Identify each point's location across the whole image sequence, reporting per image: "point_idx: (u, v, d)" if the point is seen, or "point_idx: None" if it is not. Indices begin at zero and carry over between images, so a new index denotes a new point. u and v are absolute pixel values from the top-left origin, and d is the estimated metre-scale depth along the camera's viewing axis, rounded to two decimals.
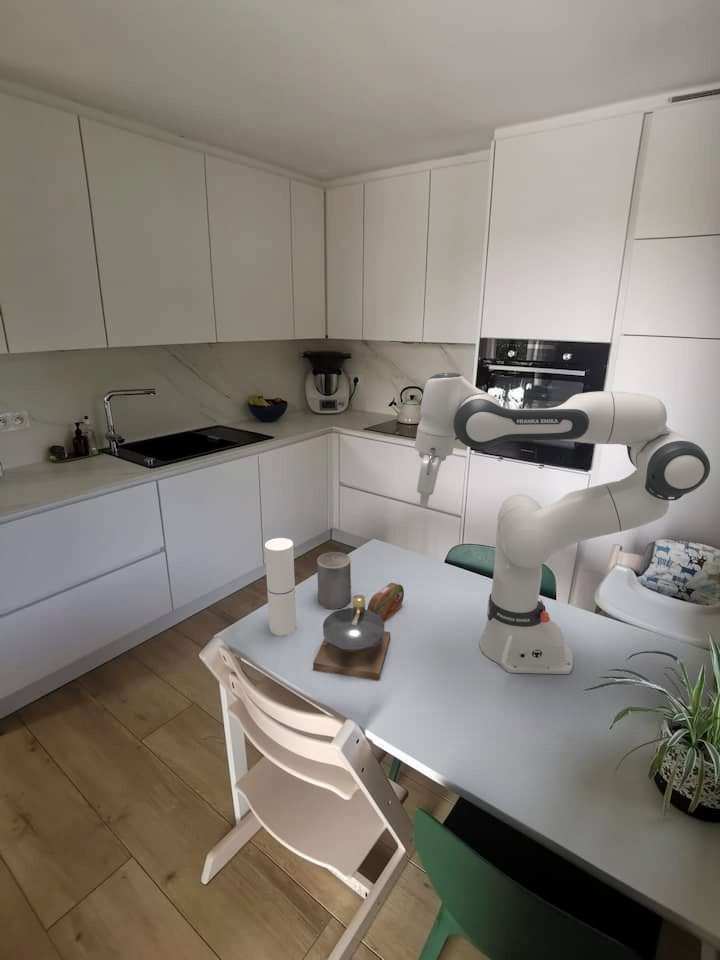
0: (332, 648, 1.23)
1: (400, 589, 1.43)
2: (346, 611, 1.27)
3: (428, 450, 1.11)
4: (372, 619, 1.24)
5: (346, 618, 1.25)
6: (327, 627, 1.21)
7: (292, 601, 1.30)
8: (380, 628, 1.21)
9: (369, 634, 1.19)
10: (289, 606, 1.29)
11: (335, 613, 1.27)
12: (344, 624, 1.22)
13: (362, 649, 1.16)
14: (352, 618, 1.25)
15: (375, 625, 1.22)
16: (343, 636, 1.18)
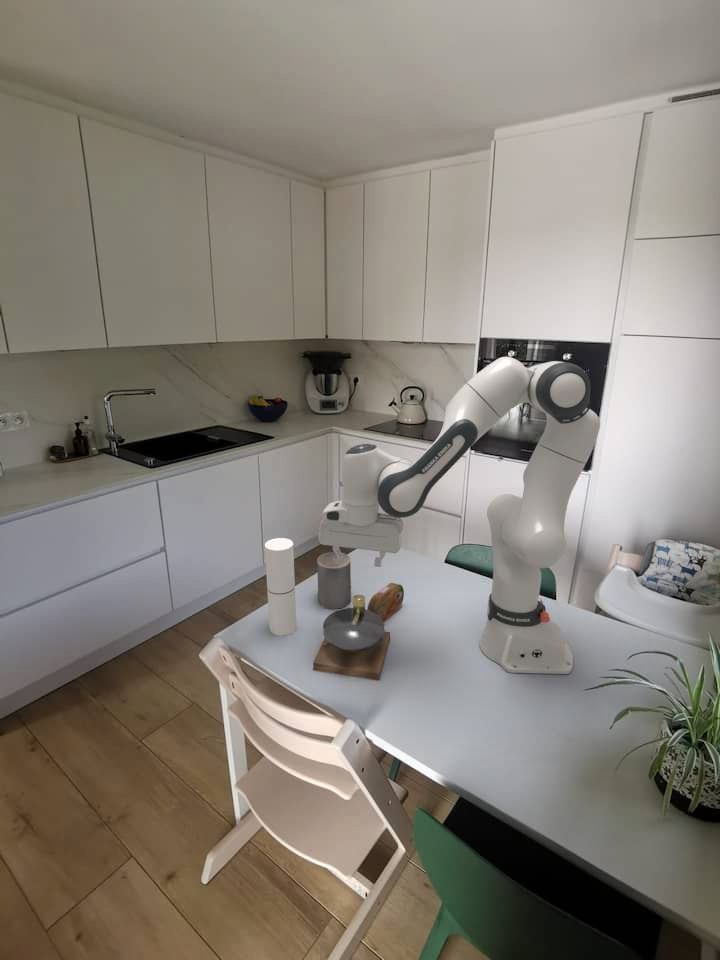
0: (332, 648, 1.23)
1: (400, 589, 1.43)
2: (346, 611, 1.27)
3: (377, 517, 1.17)
4: (372, 619, 1.24)
5: (346, 618, 1.25)
6: (327, 627, 1.21)
7: (292, 601, 1.30)
8: (380, 628, 1.21)
9: (369, 634, 1.19)
10: (289, 606, 1.29)
11: (335, 613, 1.27)
12: (344, 624, 1.22)
13: (362, 649, 1.16)
14: (352, 618, 1.25)
15: (375, 625, 1.22)
16: (343, 636, 1.18)
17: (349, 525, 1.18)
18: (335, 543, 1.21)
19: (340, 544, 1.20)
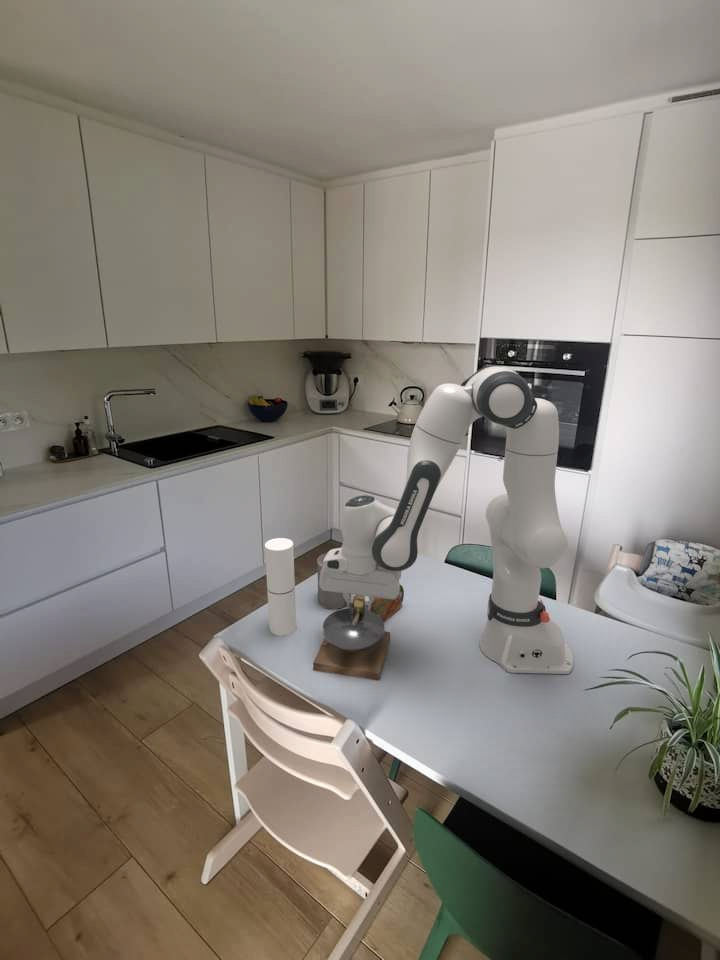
0: (332, 648, 1.23)
1: (400, 589, 1.43)
2: (346, 611, 1.27)
3: (375, 565, 1.21)
4: (372, 619, 1.24)
5: (346, 618, 1.25)
6: (327, 627, 1.21)
7: (292, 601, 1.30)
8: (380, 628, 1.21)
9: (369, 634, 1.19)
10: (289, 606, 1.29)
11: (335, 613, 1.27)
12: (344, 624, 1.22)
13: (362, 649, 1.16)
14: (352, 618, 1.25)
15: (375, 625, 1.22)
16: (343, 636, 1.18)
17: (349, 573, 1.22)
18: (335, 589, 1.25)
19: (340, 590, 1.25)
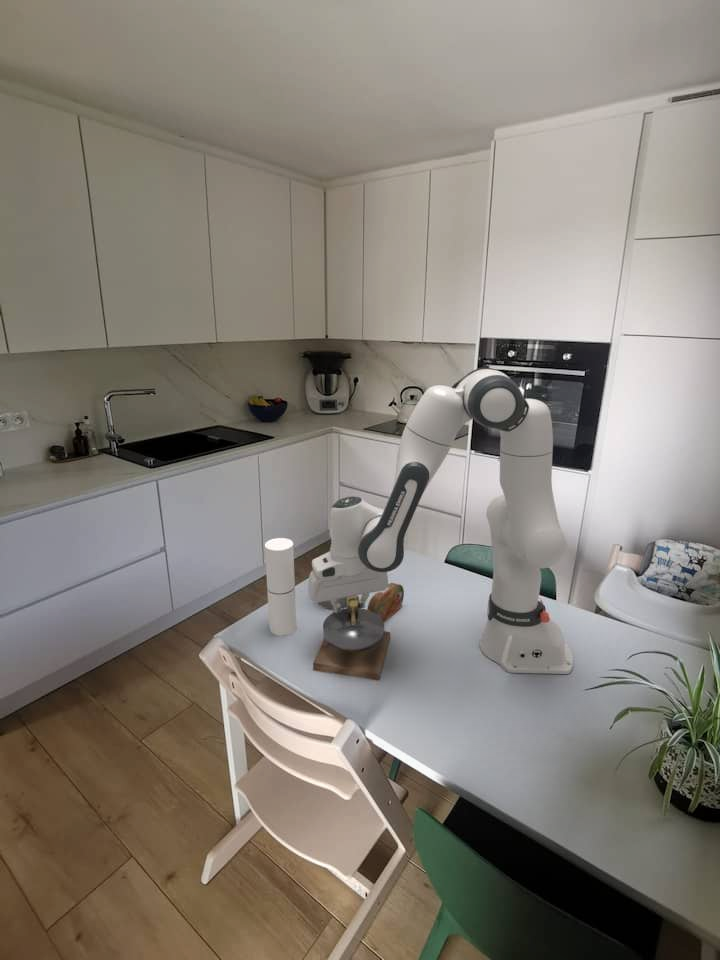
0: (332, 648, 1.23)
1: (400, 589, 1.43)
2: (340, 613, 1.27)
3: None
4: (368, 616, 1.25)
5: (343, 619, 1.24)
6: (329, 631, 1.19)
7: (292, 601, 1.30)
8: (381, 624, 1.22)
9: (372, 631, 1.20)
10: (289, 606, 1.29)
11: (330, 616, 1.25)
12: (344, 626, 1.22)
13: (370, 647, 1.16)
14: (349, 618, 1.24)
15: (374, 622, 1.23)
16: (349, 637, 1.17)
17: (343, 576, 1.21)
18: (329, 597, 1.22)
19: (334, 597, 1.22)
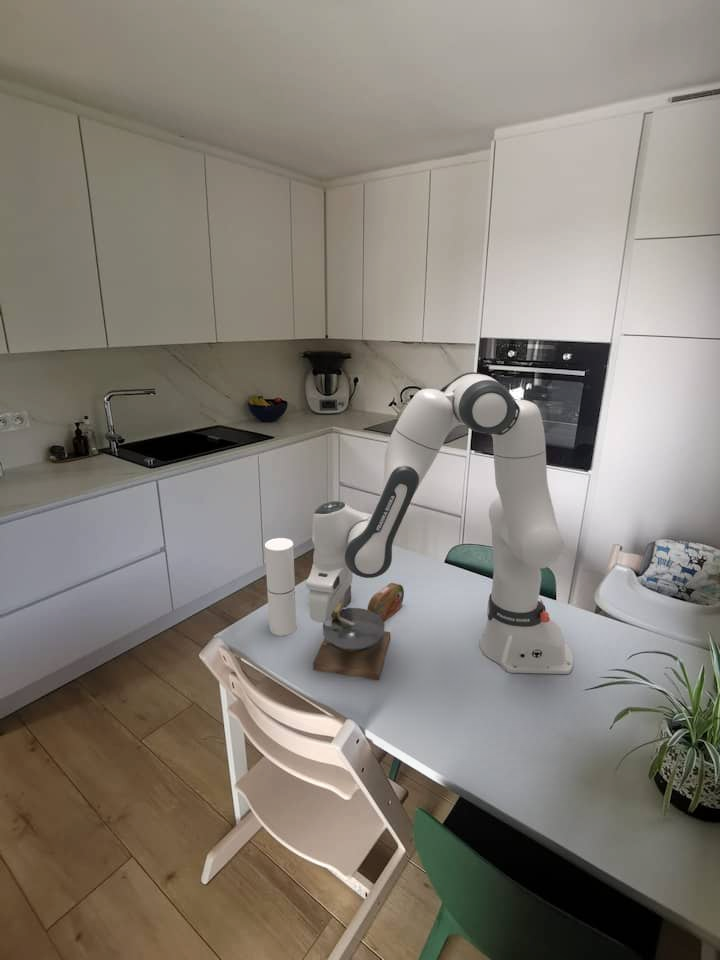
0: (332, 648, 1.23)
1: (400, 589, 1.43)
2: None
3: None
4: (352, 612, 1.27)
5: (340, 626, 1.21)
6: (346, 640, 1.16)
7: (292, 601, 1.30)
8: (369, 612, 1.27)
9: (373, 620, 1.24)
10: (289, 606, 1.29)
11: (327, 630, 1.20)
12: (348, 630, 1.20)
13: (383, 633, 1.21)
14: (342, 623, 1.23)
15: (362, 613, 1.27)
16: (366, 635, 1.18)
17: None
18: (331, 611, 1.16)
19: (333, 608, 1.18)
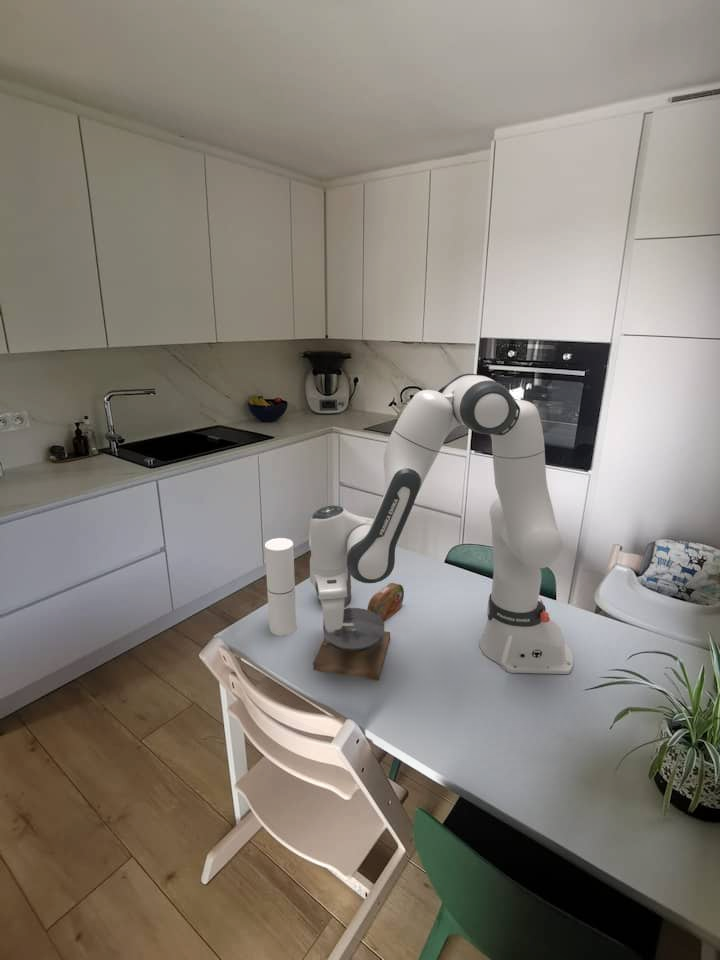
0: (332, 648, 1.23)
1: (400, 589, 1.43)
2: (332, 633, 1.19)
3: None
4: None
5: (344, 631, 1.20)
6: (363, 640, 1.16)
7: (292, 601, 1.30)
8: (353, 609, 1.28)
9: (364, 614, 1.26)
10: (289, 606, 1.29)
11: (337, 639, 1.17)
12: (354, 630, 1.20)
13: None
14: (342, 627, 1.21)
15: (349, 612, 1.27)
16: (373, 628, 1.21)
17: None
18: None
19: None
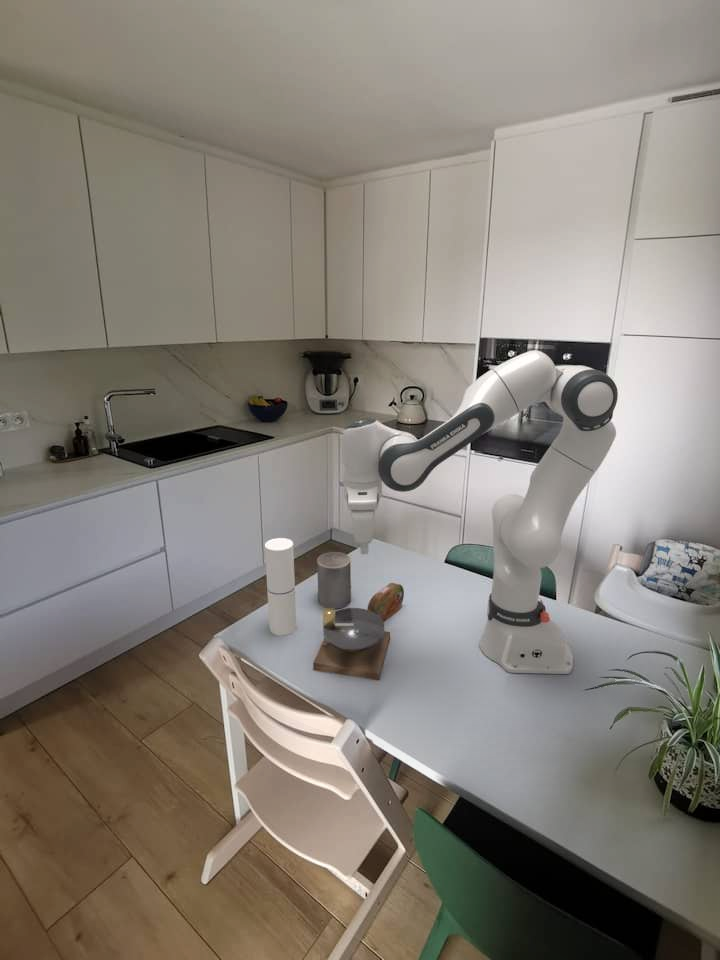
0: (332, 648, 1.23)
1: (400, 589, 1.43)
2: (332, 633, 1.19)
3: None
4: (340, 615, 1.26)
5: (344, 631, 1.20)
6: (363, 640, 1.16)
7: (292, 601, 1.30)
8: (353, 609, 1.28)
9: (364, 614, 1.26)
10: (289, 606, 1.29)
11: (337, 639, 1.17)
12: (354, 630, 1.20)
13: None
14: (342, 627, 1.21)
15: (349, 612, 1.27)
16: (373, 628, 1.21)
17: None
18: None
19: None
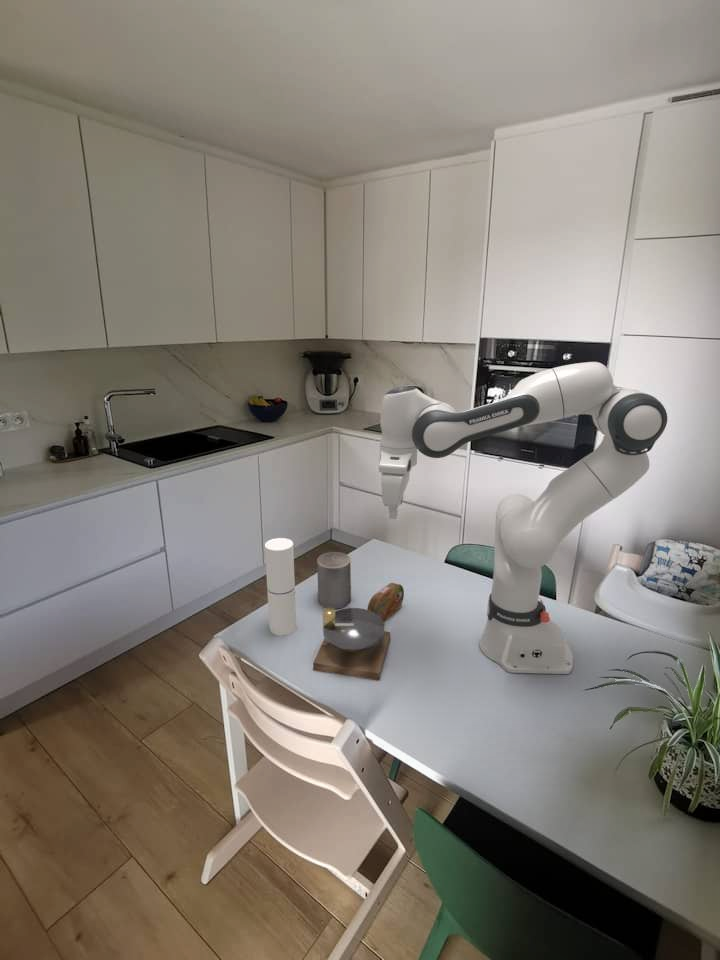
0: (332, 648, 1.23)
1: (400, 589, 1.43)
2: (332, 633, 1.19)
3: None
4: (340, 615, 1.26)
5: (344, 631, 1.20)
6: (363, 640, 1.16)
7: (292, 601, 1.30)
8: (353, 609, 1.28)
9: (364, 614, 1.26)
10: (289, 606, 1.29)
11: (337, 639, 1.17)
12: (354, 630, 1.20)
13: None
14: (342, 627, 1.21)
15: (349, 612, 1.27)
16: (373, 628, 1.21)
17: None
18: (401, 497, 1.14)
19: (401, 496, 1.16)
